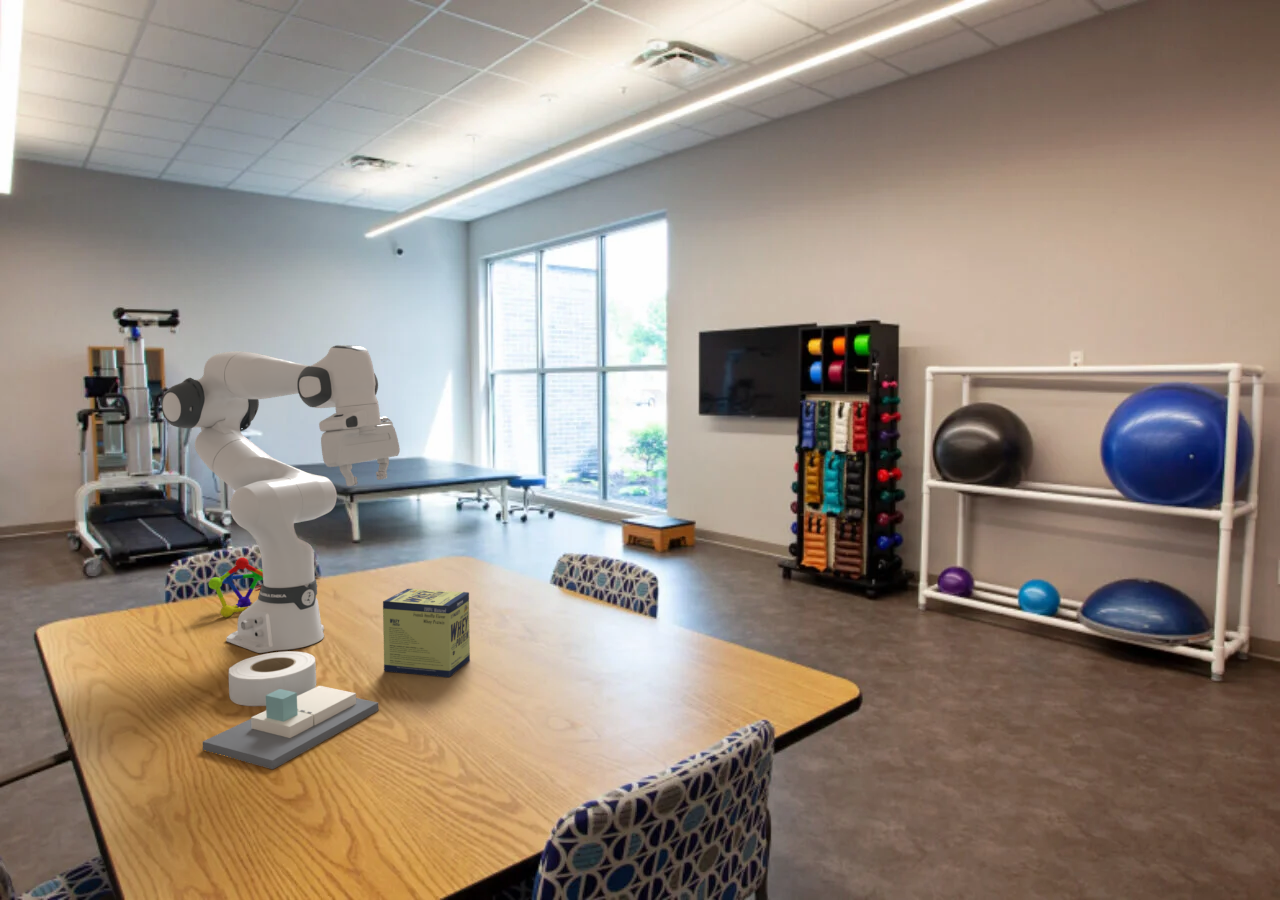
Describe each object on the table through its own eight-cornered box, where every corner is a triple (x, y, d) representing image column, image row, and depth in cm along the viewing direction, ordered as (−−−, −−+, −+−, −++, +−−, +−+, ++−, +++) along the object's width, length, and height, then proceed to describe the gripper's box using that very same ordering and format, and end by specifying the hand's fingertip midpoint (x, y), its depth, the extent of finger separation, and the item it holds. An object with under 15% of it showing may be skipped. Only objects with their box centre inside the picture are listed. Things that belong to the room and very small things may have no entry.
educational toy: (264, 604, 216) (267, 551, 215) (275, 616, 205) (278, 560, 205) (201, 609, 206) (204, 553, 205) (209, 621, 196) (213, 563, 195)
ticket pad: (276, 716, 139) (276, 705, 138) (319, 695, 148) (319, 685, 148) (314, 725, 135) (314, 713, 135) (356, 703, 144) (355, 692, 144)
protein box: (450, 678, 161) (449, 605, 159) (382, 672, 164) (380, 600, 162) (471, 660, 171) (470, 591, 170) (407, 654, 174) (405, 587, 173)
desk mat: (202, 750, 129) (202, 741, 129) (314, 696, 151) (314, 688, 151) (272, 769, 123) (272, 760, 123) (378, 710, 145) (378, 702, 145)
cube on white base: (251, 728, 134) (250, 695, 133) (275, 716, 138) (274, 684, 138) (290, 738, 130) (288, 703, 130) (313, 725, 135) (312, 692, 134)
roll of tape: (232, 682, 158) (231, 656, 158) (315, 671, 165) (315, 646, 164) (225, 713, 144) (224, 684, 144) (316, 699, 150) (315, 671, 150)
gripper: (379, 417, 177) (387, 476, 178) (312, 424, 159) (322, 490, 160) (401, 414, 175) (409, 474, 176) (336, 421, 156) (345, 488, 157)
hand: (367, 482), depth 168 cm, fingers open, 8 cm apart
